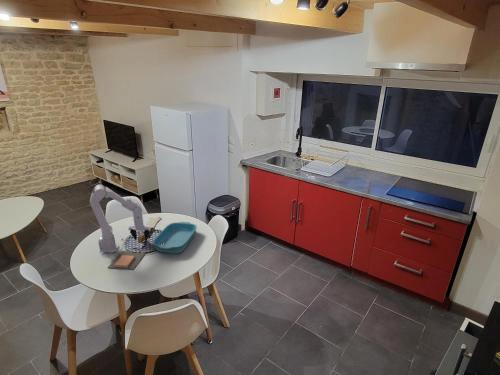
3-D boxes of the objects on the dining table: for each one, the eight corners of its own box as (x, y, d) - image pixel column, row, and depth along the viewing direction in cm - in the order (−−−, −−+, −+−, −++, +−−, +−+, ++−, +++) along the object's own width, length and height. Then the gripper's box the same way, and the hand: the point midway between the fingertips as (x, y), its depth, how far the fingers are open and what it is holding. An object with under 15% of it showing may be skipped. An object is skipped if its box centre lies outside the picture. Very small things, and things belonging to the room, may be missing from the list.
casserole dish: (172, 228, 234) (171, 219, 232) (201, 230, 230) (200, 222, 228) (148, 255, 200) (147, 246, 198) (181, 259, 197) (180, 249, 194)
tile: (122, 257, 197) (114, 266, 188) (122, 255, 197) (114, 264, 187) (134, 258, 196) (127, 267, 187) (134, 255, 196) (127, 265, 187)
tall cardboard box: (139, 239, 219) (138, 233, 217) (148, 239, 218) (147, 233, 216) (132, 248, 207) (131, 242, 206) (140, 249, 207) (139, 242, 205)
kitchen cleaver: (148, 217, 249) (161, 216, 249) (149, 219, 249) (161, 217, 249) (136, 237, 220) (150, 236, 220) (137, 239, 220) (151, 238, 220)
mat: (107, 268, 188) (107, 267, 187) (122, 251, 204) (121, 250, 204) (133, 269, 186) (133, 269, 186) (145, 253, 203) (145, 252, 203)
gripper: (151, 219, 212) (153, 237, 217) (130, 218, 213) (133, 236, 218) (147, 224, 205) (149, 242, 210) (126, 223, 207) (128, 241, 212)
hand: (141, 239), depth 214 cm, fingers open, 7 cm apart
